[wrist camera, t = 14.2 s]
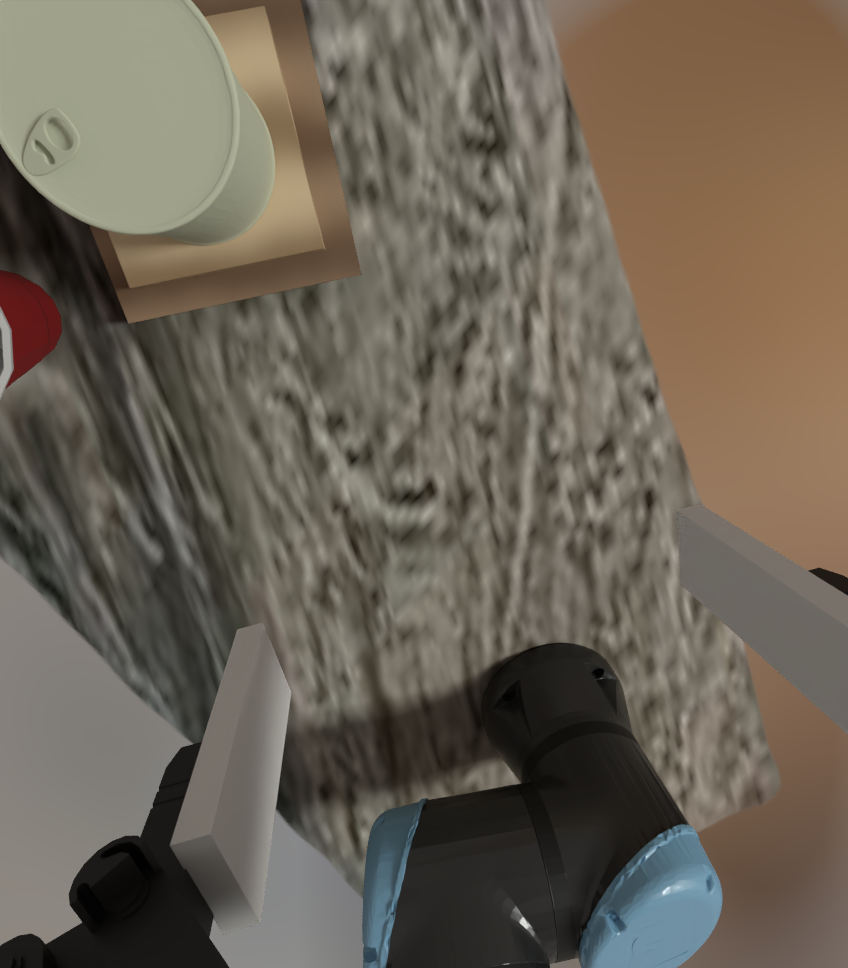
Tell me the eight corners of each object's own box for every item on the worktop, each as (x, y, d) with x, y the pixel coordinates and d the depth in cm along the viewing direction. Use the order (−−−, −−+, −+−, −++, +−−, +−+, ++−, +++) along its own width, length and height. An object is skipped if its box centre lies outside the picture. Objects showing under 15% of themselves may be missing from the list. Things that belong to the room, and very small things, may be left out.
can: (65, 127, 29) (-102, 45, 18) (196, 16, 28) (103, -141, 17) (188, 277, 33) (109, 284, 22) (308, 183, 32) (289, 141, 21)
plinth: (360, 273, 40) (362, 275, 34) (143, 319, 39) (110, 328, 33) (299, 1, 33) (290, -50, 28) (38, 49, 32) (-24, 5, 27)
